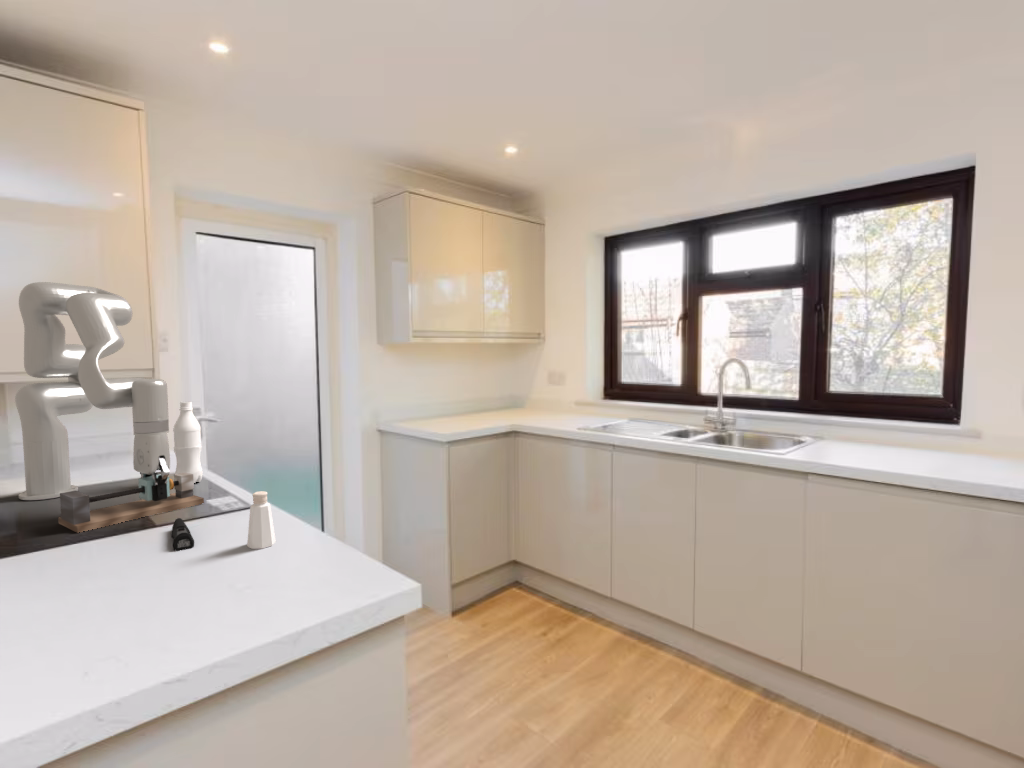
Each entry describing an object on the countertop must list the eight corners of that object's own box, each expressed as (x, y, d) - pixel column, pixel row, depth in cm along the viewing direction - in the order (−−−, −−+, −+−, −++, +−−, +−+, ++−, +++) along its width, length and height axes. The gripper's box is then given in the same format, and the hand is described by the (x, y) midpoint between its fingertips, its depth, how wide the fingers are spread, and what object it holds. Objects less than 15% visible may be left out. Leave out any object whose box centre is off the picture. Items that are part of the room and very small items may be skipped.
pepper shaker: (247, 551, 107) (245, 497, 106) (246, 542, 111) (245, 491, 111) (276, 546, 109) (275, 494, 108) (275, 538, 114) (273, 488, 113)
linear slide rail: (77, 533, 118) (76, 499, 117) (58, 523, 124) (56, 492, 124) (203, 503, 140) (202, 475, 139) (181, 496, 147) (180, 470, 146)
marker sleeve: (148, 500, 132) (147, 481, 132) (139, 497, 135) (138, 478, 134) (169, 496, 136) (169, 477, 136) (160, 493, 139) (160, 474, 139)
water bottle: (190, 487, 157) (186, 403, 156) (169, 485, 159) (165, 403, 157) (208, 481, 164) (205, 401, 163) (188, 480, 166) (185, 400, 164)
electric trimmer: (189, 529, 121) (188, 515, 121) (195, 549, 109) (194, 533, 108) (169, 532, 119) (169, 518, 119) (173, 553, 106) (172, 537, 106)
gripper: (120, 426, 136) (123, 496, 137) (150, 432, 127) (153, 507, 128) (152, 423, 142) (155, 490, 143) (183, 428, 133) (186, 499, 134)
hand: (154, 497), depth 136 cm, fingers closed on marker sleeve, 5 cm apart
